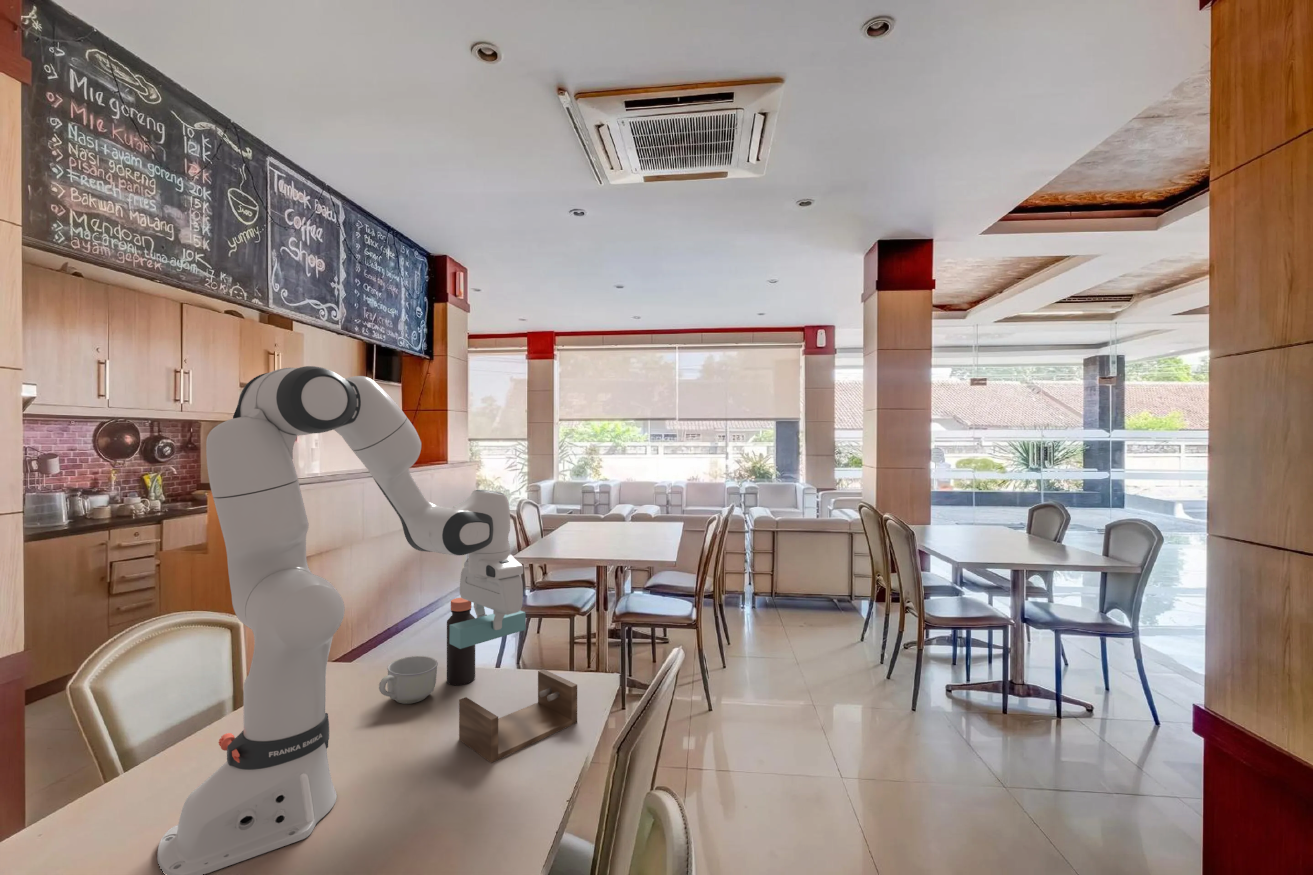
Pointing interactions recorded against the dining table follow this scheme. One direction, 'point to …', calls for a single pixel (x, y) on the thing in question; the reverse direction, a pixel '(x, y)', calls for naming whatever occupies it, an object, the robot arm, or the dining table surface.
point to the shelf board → (485, 629)
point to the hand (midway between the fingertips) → (489, 625)
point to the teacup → (410, 679)
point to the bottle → (458, 659)
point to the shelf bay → (519, 719)
